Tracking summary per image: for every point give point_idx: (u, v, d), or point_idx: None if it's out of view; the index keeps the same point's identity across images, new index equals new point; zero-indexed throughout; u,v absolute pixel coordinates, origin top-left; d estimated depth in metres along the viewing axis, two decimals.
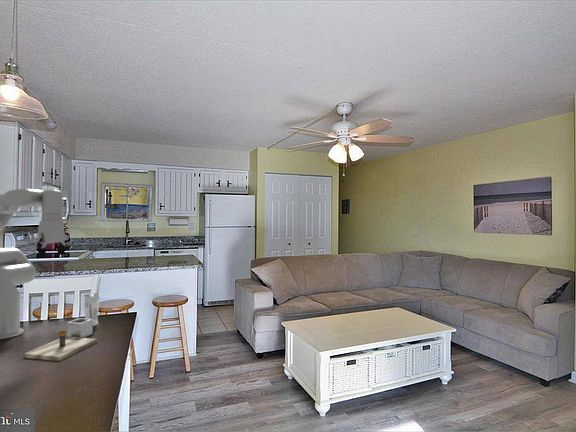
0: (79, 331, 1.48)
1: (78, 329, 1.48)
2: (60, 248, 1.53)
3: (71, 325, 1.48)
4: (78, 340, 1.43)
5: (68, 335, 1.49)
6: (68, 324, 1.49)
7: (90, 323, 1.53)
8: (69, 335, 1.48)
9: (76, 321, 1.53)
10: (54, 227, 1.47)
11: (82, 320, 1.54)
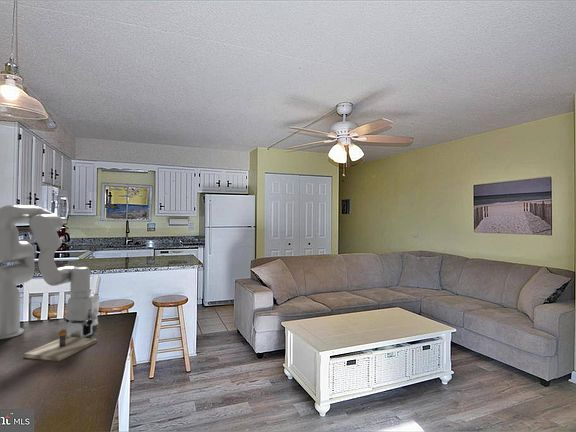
0: (79, 331, 1.48)
1: (78, 329, 1.48)
2: None
3: (71, 325, 1.48)
4: (78, 340, 1.43)
5: (68, 335, 1.49)
6: (68, 324, 1.49)
7: None
8: (69, 335, 1.48)
9: (76, 321, 1.53)
10: None
11: None
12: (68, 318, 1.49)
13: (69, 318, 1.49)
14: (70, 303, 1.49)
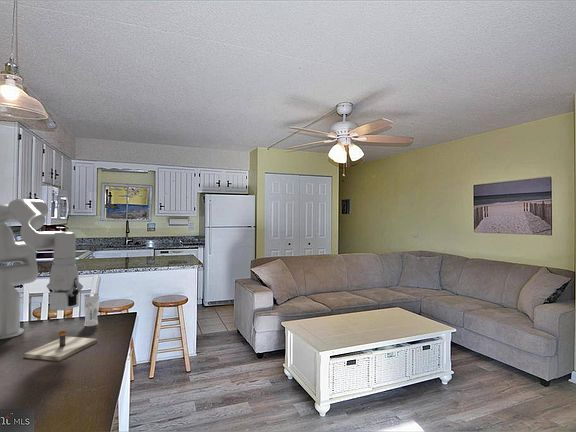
0: (64, 301, 1.34)
1: (62, 299, 1.34)
2: None
3: (55, 295, 1.34)
4: (78, 340, 1.43)
5: (51, 306, 1.35)
6: (51, 294, 1.35)
7: None
8: (52, 306, 1.35)
9: (60, 292, 1.39)
10: None
11: (67, 291, 1.40)
12: (51, 287, 1.36)
13: (52, 287, 1.35)
14: (53, 271, 1.36)
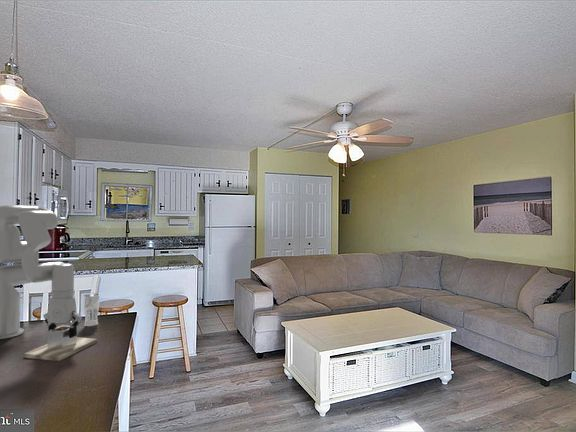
0: (61, 340, 1.32)
1: (60, 338, 1.33)
2: (53, 327, 1.37)
3: (52, 334, 1.33)
4: (78, 340, 1.43)
5: (49, 345, 1.33)
6: (49, 332, 1.34)
7: None
8: (50, 345, 1.33)
9: (58, 329, 1.38)
10: None
11: (65, 328, 1.39)
12: (49, 320, 1.34)
13: (50, 320, 1.34)
14: (51, 304, 1.34)
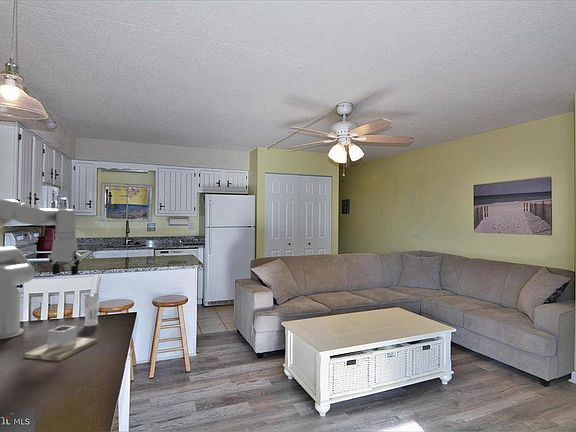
0: (61, 340, 1.32)
1: (60, 338, 1.33)
2: (57, 267, 1.52)
3: (52, 334, 1.33)
4: (78, 340, 1.43)
5: (49, 345, 1.33)
6: (49, 332, 1.34)
7: (74, 331, 1.38)
8: (50, 345, 1.33)
9: (58, 329, 1.38)
10: None
11: (65, 328, 1.39)
12: (53, 259, 1.49)
13: (54, 259, 1.49)
14: (55, 244, 1.49)
